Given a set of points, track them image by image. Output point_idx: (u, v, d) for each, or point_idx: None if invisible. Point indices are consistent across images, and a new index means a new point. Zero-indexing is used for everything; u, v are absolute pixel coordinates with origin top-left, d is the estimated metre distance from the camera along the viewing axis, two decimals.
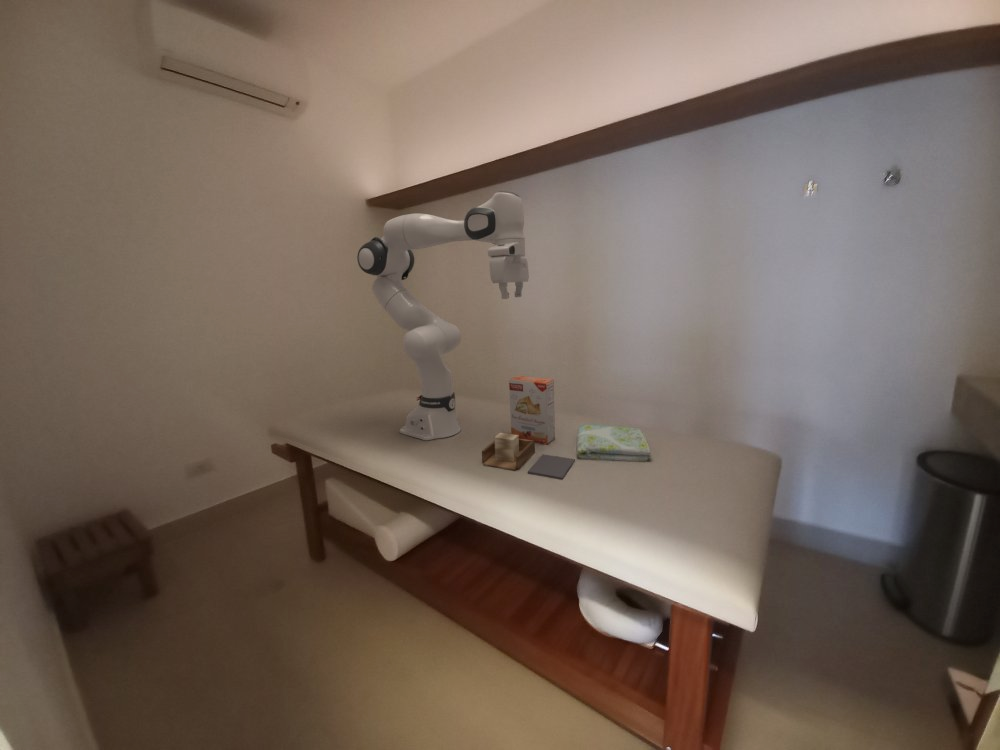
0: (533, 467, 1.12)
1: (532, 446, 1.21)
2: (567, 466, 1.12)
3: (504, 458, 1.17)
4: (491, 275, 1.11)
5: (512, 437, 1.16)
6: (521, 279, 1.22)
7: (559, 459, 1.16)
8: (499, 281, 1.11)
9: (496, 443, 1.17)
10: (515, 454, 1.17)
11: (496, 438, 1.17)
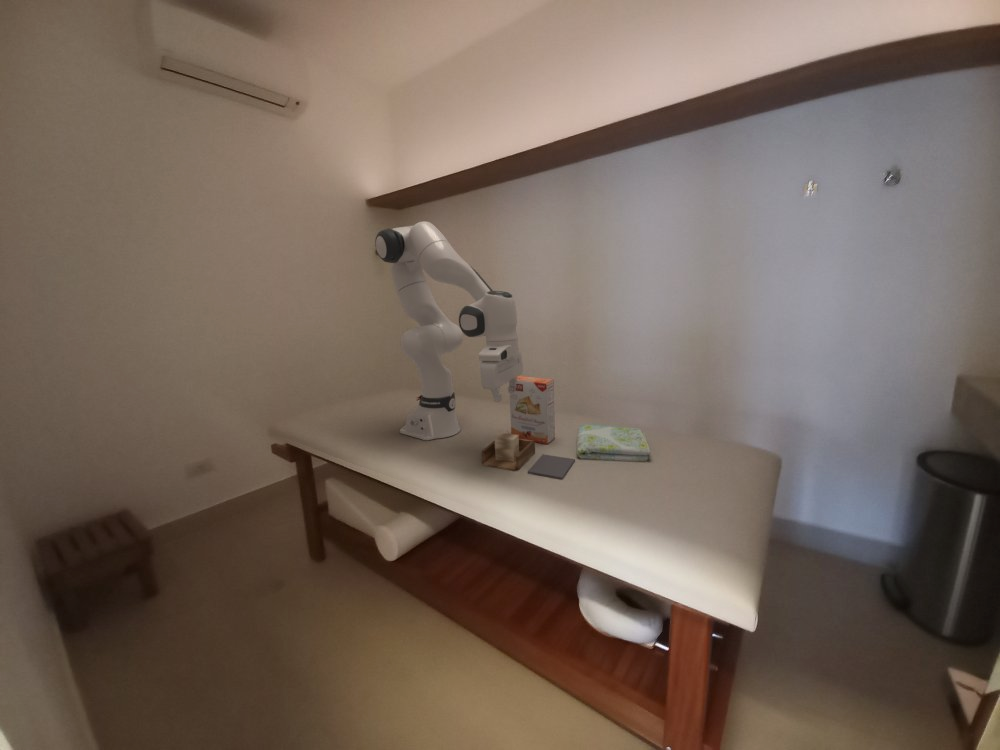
0: (533, 467, 1.12)
1: (532, 446, 1.21)
2: (567, 466, 1.12)
3: (504, 458, 1.17)
4: (482, 381, 1.05)
5: (512, 437, 1.16)
6: (514, 376, 1.16)
7: (559, 459, 1.16)
8: (490, 388, 1.05)
9: (496, 443, 1.17)
10: (515, 454, 1.17)
11: (496, 438, 1.17)
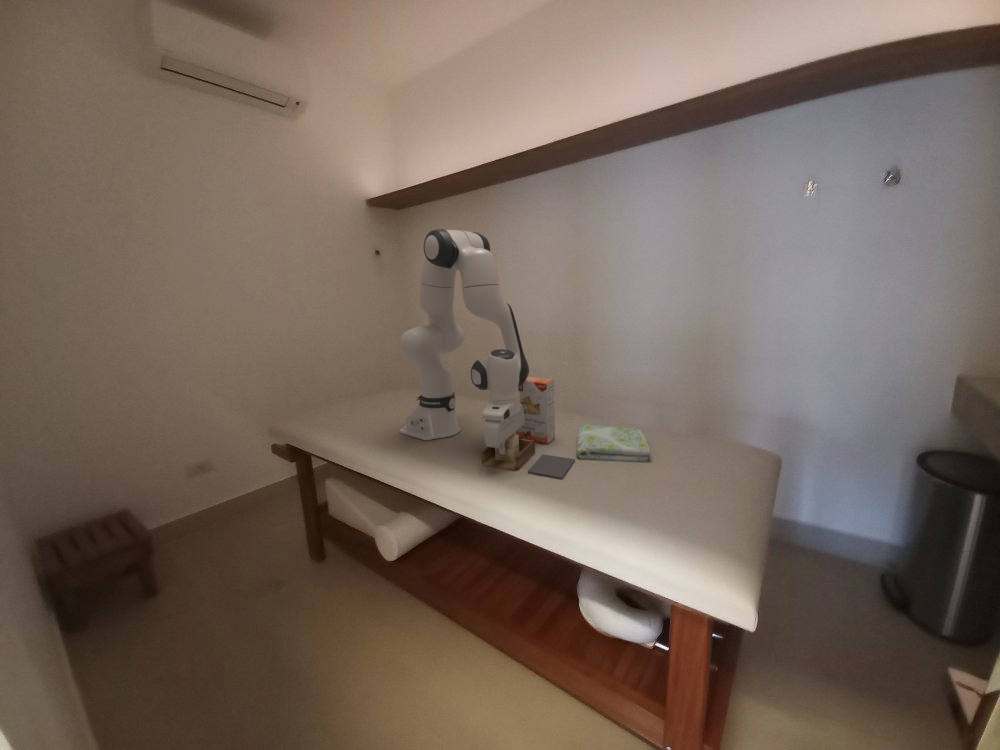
0: (533, 467, 1.12)
1: (532, 446, 1.21)
2: (567, 466, 1.12)
3: (504, 458, 1.17)
4: (485, 440, 1.09)
5: (512, 437, 1.16)
6: (516, 429, 1.20)
7: (559, 459, 1.16)
8: (493, 446, 1.09)
9: None
10: (515, 454, 1.17)
11: None
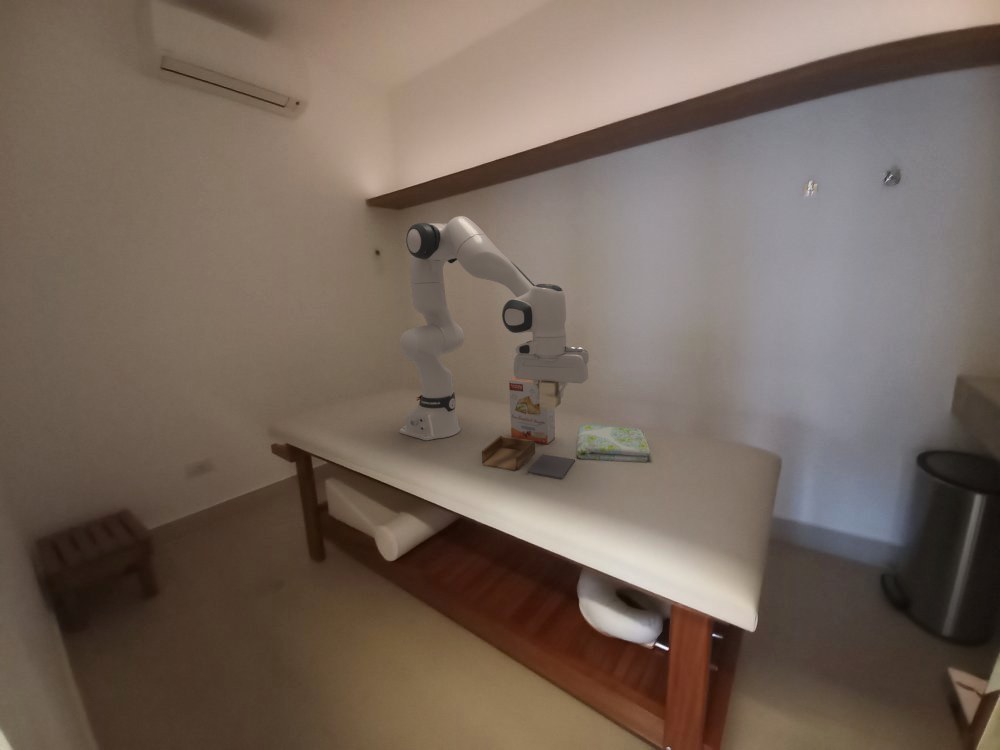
0: (533, 467, 1.12)
1: (532, 446, 1.21)
2: (567, 466, 1.12)
3: None
4: None
5: (546, 382, 1.06)
6: (560, 379, 1.04)
7: (559, 459, 1.16)
8: None
9: None
10: (544, 401, 1.06)
11: None
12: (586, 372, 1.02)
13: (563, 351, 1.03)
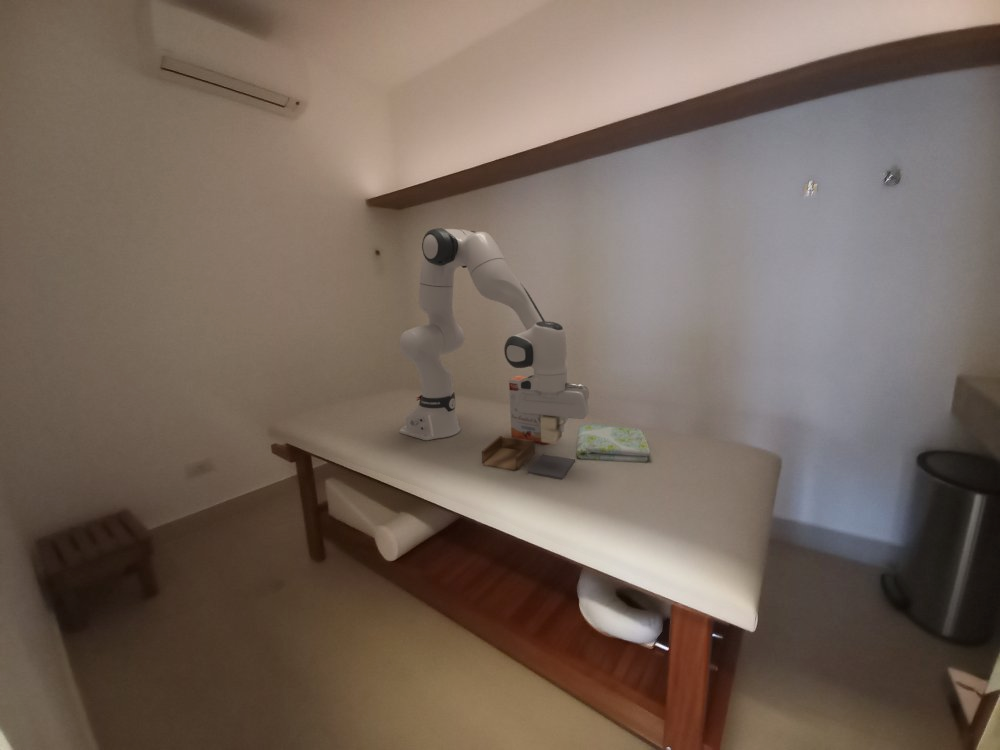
0: (533, 467, 1.12)
1: (532, 446, 1.21)
2: (567, 466, 1.12)
3: None
4: None
5: (547, 417, 1.08)
6: (561, 414, 1.06)
7: (559, 459, 1.16)
8: None
9: None
10: (545, 436, 1.08)
11: None
12: (586, 408, 1.04)
13: (564, 387, 1.05)
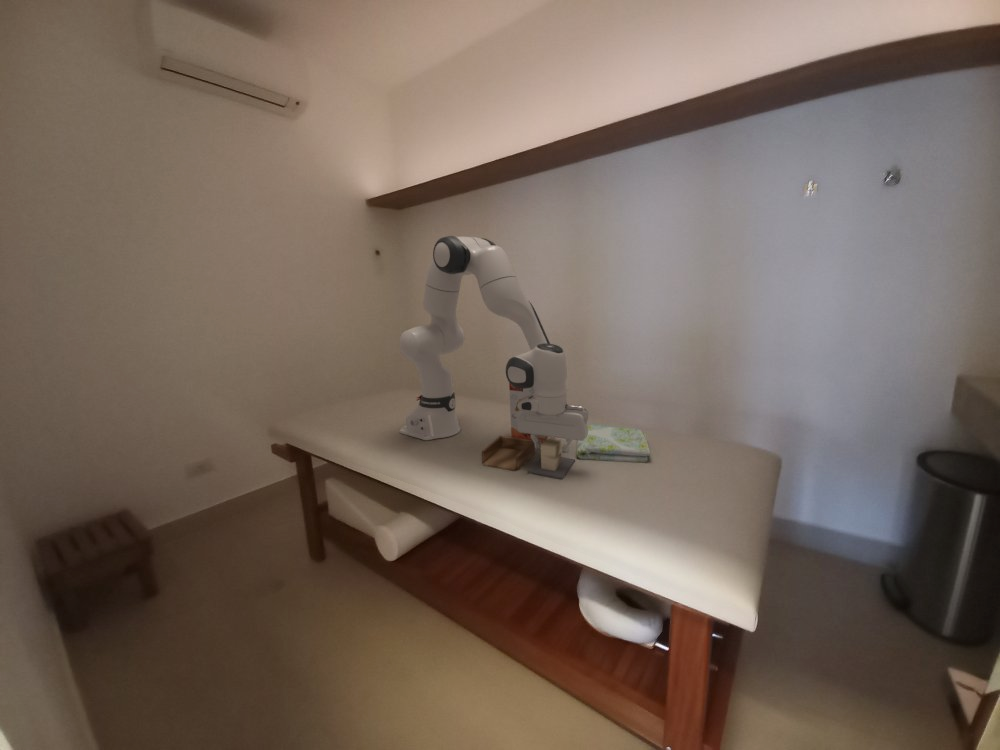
0: (533, 467, 1.12)
1: (532, 446, 1.21)
2: (567, 466, 1.12)
3: None
4: None
5: (547, 444, 1.10)
6: (561, 435, 1.08)
7: None
8: None
9: None
10: (545, 463, 1.10)
11: (547, 439, 1.14)
12: (586, 430, 1.06)
13: (564, 409, 1.06)
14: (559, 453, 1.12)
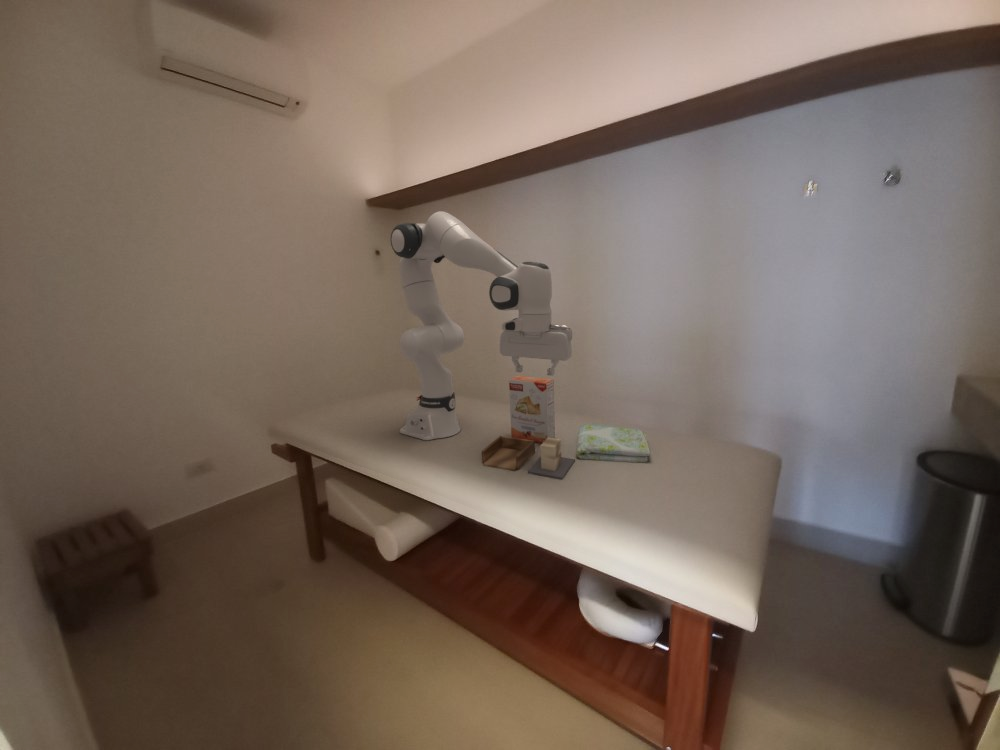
0: (533, 467, 1.12)
1: (532, 446, 1.21)
2: (567, 466, 1.12)
3: None
4: None
5: (547, 444, 1.10)
6: (544, 356, 1.06)
7: None
8: None
9: None
10: (545, 463, 1.10)
11: (547, 439, 1.14)
12: (569, 350, 1.05)
13: (548, 328, 1.05)
14: (559, 453, 1.12)
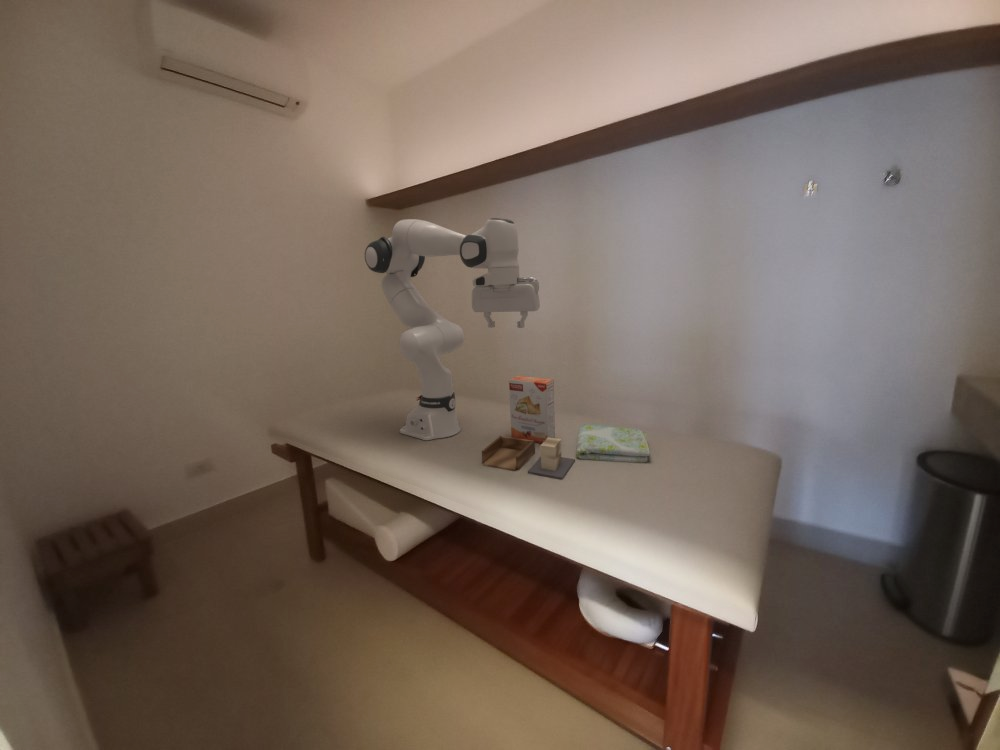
0: (533, 467, 1.12)
1: (532, 446, 1.21)
2: (567, 466, 1.12)
3: None
4: None
5: (547, 444, 1.10)
6: (513, 308, 1.11)
7: None
8: None
9: None
10: (545, 463, 1.10)
11: (547, 439, 1.14)
12: (537, 301, 1.09)
13: (515, 281, 1.09)
14: (559, 453, 1.12)
